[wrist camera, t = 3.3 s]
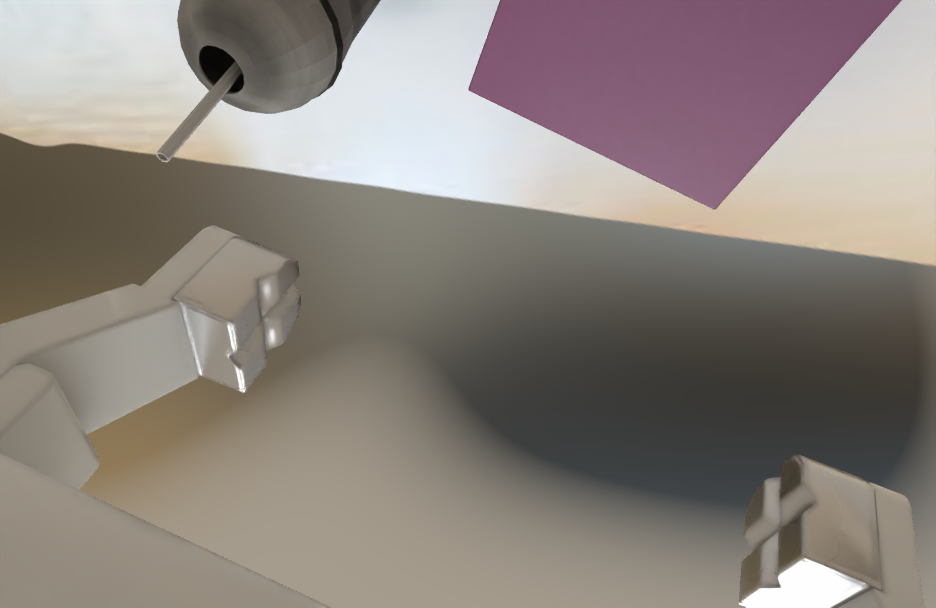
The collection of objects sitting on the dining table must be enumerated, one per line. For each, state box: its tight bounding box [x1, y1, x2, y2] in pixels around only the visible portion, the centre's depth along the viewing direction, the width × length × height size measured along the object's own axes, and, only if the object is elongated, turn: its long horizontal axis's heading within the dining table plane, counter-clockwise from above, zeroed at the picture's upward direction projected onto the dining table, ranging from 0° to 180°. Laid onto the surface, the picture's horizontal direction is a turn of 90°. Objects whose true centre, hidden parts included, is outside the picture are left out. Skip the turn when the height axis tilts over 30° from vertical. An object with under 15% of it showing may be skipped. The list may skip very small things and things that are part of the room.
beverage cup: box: [157, 0, 380, 162], centre depth 30 cm, size 7×7×20 cm
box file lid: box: [469, 0, 901, 209], centre depth 24 cm, size 18×14×5 cm
